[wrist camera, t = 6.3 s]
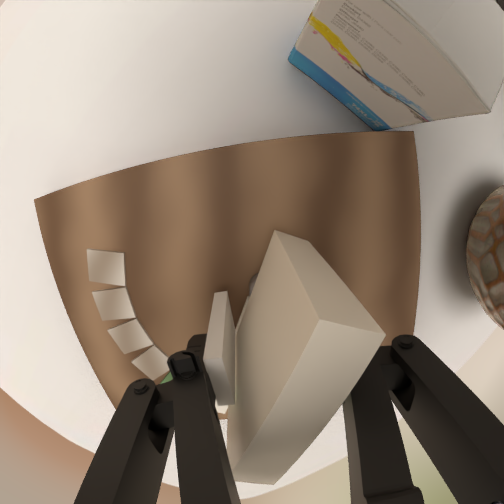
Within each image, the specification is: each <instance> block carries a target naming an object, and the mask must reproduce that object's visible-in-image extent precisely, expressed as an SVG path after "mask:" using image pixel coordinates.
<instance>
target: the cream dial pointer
mask: <svg viewBox="0 0 504 504" xmlns="http://www.w3.org/2000/svg"><path fill="white" fill-rule="evenodd" d="M385 336H386V334H385V333H384V331H383V330H382V329H381V328H380V326H379V325H378V324H377V323H376V321H375V320H374V319H373V318H372V316H371V315H370V314H369V313H368V311H367V310H366V309H365V308H364V306H363V305H362V304H361V303H360V301H359V300H358V299H357V298H356V297H355V295H354V294H353V293H352V292H351V290H350V289H349V288H348V287H347V286H346V284H345V283H344V282H343V281H342V280H341V278H340V277H339V276H338V275H337V274H336V273H335V271H334V270H333V269H332V268H331V267H330V265H329V264H328V263H327V262H326V261H325V260H324V258H323V257H322V256H321V255H320V254H319V253H318V252H317V250H316V249H315V248H314V247H313V246H312V245H311V243H310V242H309V241H307V240H304V239H301V238H298V237H295V236H292V235H289V234H286V233H283V232H280V231H277V230H274V232H273V235H272V238H271V241H270V244H269V246H268V249H267V252H266V255H265V257H264V260H263V263H262V266H261V268H260V271H259V272H258V273H256V274H255V275H254V276H253V277H252V278H251V280H250V282H249V296H247V299H246V302H245V305H244V307H243V310H242V313H241V315H240V318H239V321H238V324H237V326H236V329H235V405H225V406H218V404H217V401H215V407H216V410H217V412H218V413H223V414H225V413H226V411H227V409H228V425H227V455H228V459H229V462H230V466H231V470H232V474H233V478H234V481H238V482H247V483H257V484H270V485H274V484H275V483H276V482H277V481H278V480H279V479H280V478H281V477H282V476H283V475H284V474H285V473H286V472H287V471H288V469H289V468H290V467H291V466H292V465H293V464H294V463H295V462H296V461H297V460H298V458H299V457H300V456H301V455H302V454H303V453H304V452H305V450H306V449H307V448H308V447H309V446H310V445H311V443H312V442H313V441H314V440H315V438H316V437H317V436H318V435H319V434H320V432H321V431H322V430H323V429H324V427H325V426H326V425H327V423H328V422H329V421H330V419H331V418H332V417H333V415H334V414H335V413H336V411H337V410H338V409H339V407H340V406H341V405H342V403H343V402H344V400H345V399H346V398H347V396H348V395H349V393H350V392H351V390H352V389H353V387H354V386H355V385H356V383H357V382H358V380H359V378H360V377H361V375H362V374H363V372H364V371H365V369H366V368H367V366H368V364H369V363H370V361H371V360H372V358H373V356H374V355H375V353H376V351H377V350H378V348H379V346H380V345H381V343H382V341H383V339H384V338H385Z"/></svg>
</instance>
